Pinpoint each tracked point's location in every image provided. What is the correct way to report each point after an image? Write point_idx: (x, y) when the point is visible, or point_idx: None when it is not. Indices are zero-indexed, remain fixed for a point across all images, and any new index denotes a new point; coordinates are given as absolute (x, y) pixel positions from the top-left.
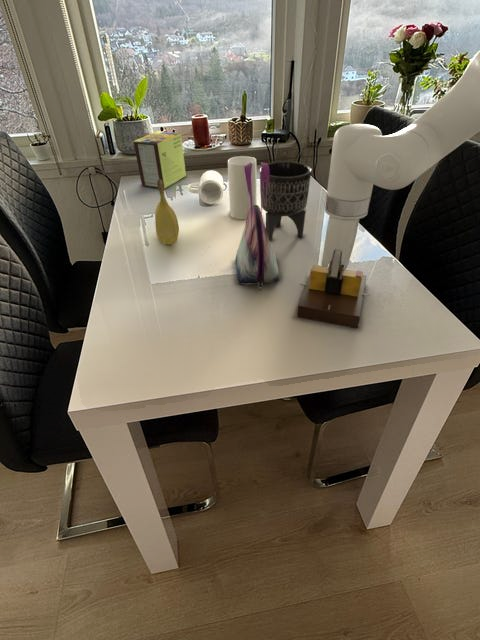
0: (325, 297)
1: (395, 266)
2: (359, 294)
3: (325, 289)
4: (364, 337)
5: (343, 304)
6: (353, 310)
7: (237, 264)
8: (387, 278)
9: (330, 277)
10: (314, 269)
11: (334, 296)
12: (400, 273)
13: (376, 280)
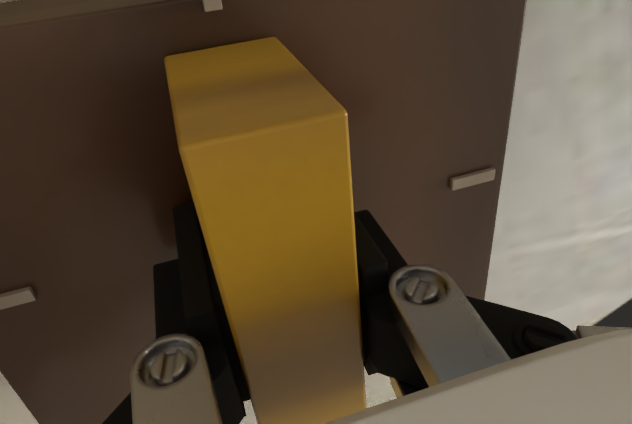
0: (120, 226)
1: (623, 295)
2: None
3: (174, 225)
4: (20, 414)
5: (117, 343)
6: (92, 403)
7: None
8: (531, 306)
9: (115, 412)
10: (230, 176)
11: None
12: (572, 326)
13: (509, 279)
